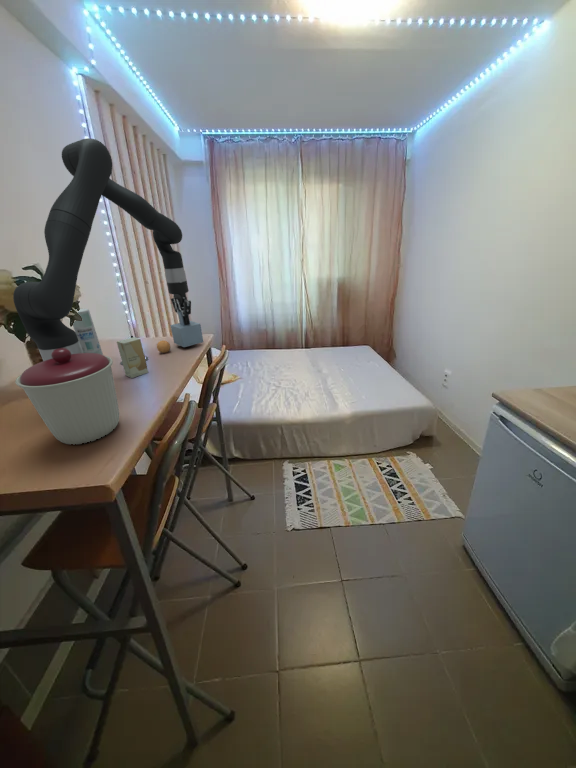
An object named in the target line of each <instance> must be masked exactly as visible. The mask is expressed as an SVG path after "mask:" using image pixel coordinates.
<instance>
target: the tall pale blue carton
mask: <svg viewBox="0 0 576 768" xmlns="http://www.w3.org/2000/svg"><path fill="white" fill-rule="evenodd" d="M79 309H80V310H79V311H78V314H79V315H80V316H81V317H82V319H83V320H82V321H75V322H74V323H73V325H72V327H73V330H74V331H75V332H76V334H77V337H78V340H79V343H80V345H81V348H82V351H83V353H97V354H101V355H104V353H103V351H102V350H103V349H102V347H101V345H100V341H99V337H98V335H97V331H96V328H95V325H94V322H93V317H92V315H91V311H90V309H89V308H79Z"/></svg>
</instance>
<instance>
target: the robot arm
mask: <svg viewBox="0 0 576 768" xmlns="http://www.w3.org/2000/svg"><path fill="white" fill-rule="evenodd" d="M61 159H62V163H63V165H64V167H65V168H66V170H67V171H68V173H69V174H70V176H72V177H73V178H72V179H71V180H70V182H69V183H68V185H67V186H66V187H65V188H64V189H63V191H62V192H60V194H59V196H57V198H56V200H55V201H54V202H53V204H52V206H51V208H50V210H49V212H48V215H47V217H46V218H47V220H46V222H45V225H44V231H43V233H44V239H45V243H46V244H45V245H46V247H47V251H48V252H47V253H48V261H47V265H46V268H45V272H44V274H43V276H42V278H41V280H40V281H27V282H26V281H25V282H22V283H21V284H18V286H16V287H15V289H14V291H13V297H12V300H13V303H14V308H15V310H16V312H17V314H18V316H19V318H20V320H21V323H22V324H23V328H24V329H25V332H26V333H27V335H28V336H29V338H30V339H31V340H32V341H33V342H34V343H35V344H36V347H37V349H38V350H39V354H40V356H41V358H42V362H43V361H46V360H49V359H52V357H51V354H52V352H53V351H54V350H56V349H59V348H66V349H68V350H69V351H70V352H71V354H78V353H83V351H82V348H81V345H80V343H79V340H78V337H77V334H76V332H75V330H74V329H72V328H70V327H69V326H67V325H66V324H64V323H63V322H62V319H64V318H66V317H67V316H69V312H70V311H72V308H73V304H74V300H75V299H74V298H75V295H76V294H75V293H76V287H77V280H78V275H79V271H80V267H81V264H82V260H83V258H84V257H83V256H84V252H85V250H86V247H87V245H88V241H89V238H90V235H91V231H92V228H93V223H94V219H95V216H96V213H97V211H98V207H99V203H100V200H101V198H102V197H104V198H106V200H109V201H110V202H112V203H113V204H115V205H116V206H118V207H119V208H120V209H122V210H123V211H125V212H126V213H127V214H129V215H130V216H131V217H132V218H134V220H136V221H137V222H138V223H139V224H140V225H142V226H143V227H144V228H146V229H147V230H150V231H152V238H153V241H154V244H155V245H156V247H157V250H158V251H159V254H160V255H161V258H162V263H163V267H164V272H165V273H164V275H165V280H166V285H167V290H168V293H169V294H170V295H173V296H172V297H171V298H170V301H171V304H172V307H173V309H174V310H173V311H174V312H175V313H176V314H177V315H178V311H181V312H182V315H183V321H184V325H189V324H190V322H189V320H190V315H192V301H191V300H189V299H187V298H188V297H187V293H188V292H189V286H188V281H187V274H186V271H185V267H184V261H183V257H182V254H181V252H179V251H177V250H174V249H173V247H172V245H177V244H179V243H181V242H182V240H183V233H182V229H181V228H180V226H179V225H178V224H177V222H175V221H174V220H173V219H171V218H169V217H167V216H166V215H164V214H162V213H160V212H159V211H158V210H157V209H155V207H154V206H152V204H150V203H149V202H148V201H147V200H146V199H145V198H144V197H142V196H141V195H139V194H138V193H136V192H135V191H132V190H131V189H129V188H127V187H124V186H123V185H121V184H119V183H117V182H116V181H115V180H113V179H111V176H112V172H113V160H112V159H113V158H112V156H111V152H110V151H109V150H108V148H107V146H106V145H105V144H104V143H102V141H99V140H98V139H95V138H81V139H79V140H77V141H74V142H71V143H69V144H67V145H65V146H64V147H63V148H62V151H61ZM183 310H184V311H183ZM188 315H189V316H188Z"/></svg>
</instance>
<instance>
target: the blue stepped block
mask: <svg viewBox="0 0 576 768" xmlns="http://www.w3.org/2000/svg"><path fill="white" fill-rule="evenodd" d="M183 311H184V310H183ZM177 316H178V320H179V323H174V324H170V328H171V334H172V338H173V339H172V340H173V343H174V344H176V345H177V346H180V347H182V348H186V347H190V346H193V345H198V344H201V343H204V337H203V331H202V327H201V326H202V325H201V323H199V322H195V321H192V320H190V319H189V322H190V324H189V325H184V321H183V315H182V312H181V311H178V314H177ZM188 316H189V317H190V314H189V315H188Z"/></svg>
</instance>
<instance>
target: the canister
mask: <svg viewBox="0 0 576 768" xmlns="http://www.w3.org/2000/svg"><path fill="white" fill-rule="evenodd" d="M51 357H52V359H49V360H46V361H43V360H42V361H40V362H38V363H35V364H34V365H31V366H30V367H28V368H27V369H25V370H24V371H23V372H22V373H21V374H20V375H19V376H18V377H17V378H16V379H15V381H14V382H15V384H16V386H18V387H19V388H21V389H23V391H24V392H25V394H26V396H27V398H28V399H29V400H30V402H31V404H32V406H33V407H34V408H35V410H36V412H37V413H38V415H39V416H40V418H41V419H42V420H43V423H44V424H45V425H46V427H47V429H48V431H50V433H51V434H52V435H53V437H54V438H55V439H56V440H57V441H58V442H61V443H63V444H66V445H71V444H73V445H75V444H76V445H83V444H82V443H84V444H87V442H89V443H91V442H94V441H97V440H96V439H98V440H99V439H102V438H104V437H105V435H106V436H107V435H109V434H110V433H111V432H113V429H114V430H115V429H116V427H117V426H118V424H119V420H120V410H119V403H118V397H117V390H116V386H115V381H114V380H115V379H114V374H113V369H112V365H113V362H114V361H113V358H112V357H111V356H108V355H104V354H103V355H101V354H97V353H78V354H71V352H70V351H69V350H68V349H66V348H59V349H56V350H54V351H53V352H52V354H51ZM101 437H102V438H101ZM90 441H91V442H90Z"/></svg>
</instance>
